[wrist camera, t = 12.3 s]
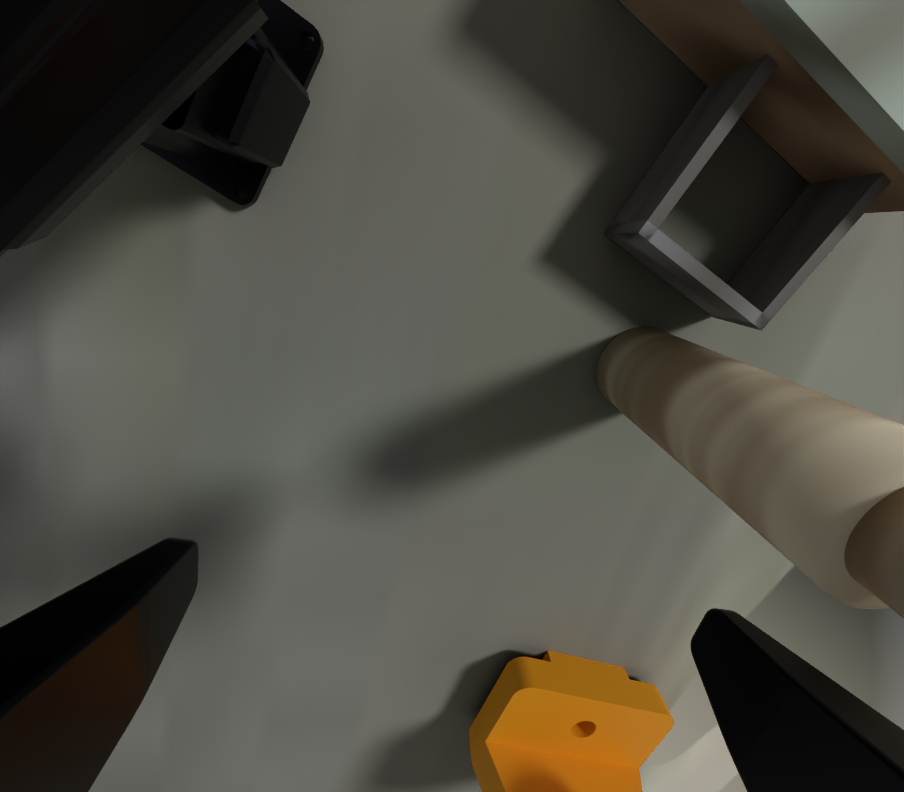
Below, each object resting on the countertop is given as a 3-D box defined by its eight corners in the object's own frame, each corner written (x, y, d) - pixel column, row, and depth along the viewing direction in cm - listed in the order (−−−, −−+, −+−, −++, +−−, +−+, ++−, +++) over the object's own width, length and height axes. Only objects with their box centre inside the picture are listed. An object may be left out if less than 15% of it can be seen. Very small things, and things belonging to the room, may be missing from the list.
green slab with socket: (487, 144, 16) (513, 106, 12) (715, -247, 13) (882, -523, 8) (741, 339, 20) (839, 370, 15) (972, 71, 16) (1191, 5, 12)
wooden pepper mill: (578, 381, 20) (819, 604, 8) (633, 310, 19) (1009, 439, 7) (640, 421, 21) (938, 674, 9) (695, 355, 20) (1121, 539, 8)
